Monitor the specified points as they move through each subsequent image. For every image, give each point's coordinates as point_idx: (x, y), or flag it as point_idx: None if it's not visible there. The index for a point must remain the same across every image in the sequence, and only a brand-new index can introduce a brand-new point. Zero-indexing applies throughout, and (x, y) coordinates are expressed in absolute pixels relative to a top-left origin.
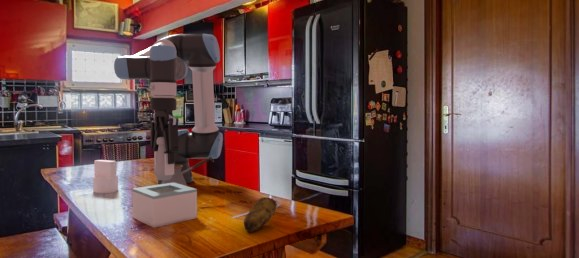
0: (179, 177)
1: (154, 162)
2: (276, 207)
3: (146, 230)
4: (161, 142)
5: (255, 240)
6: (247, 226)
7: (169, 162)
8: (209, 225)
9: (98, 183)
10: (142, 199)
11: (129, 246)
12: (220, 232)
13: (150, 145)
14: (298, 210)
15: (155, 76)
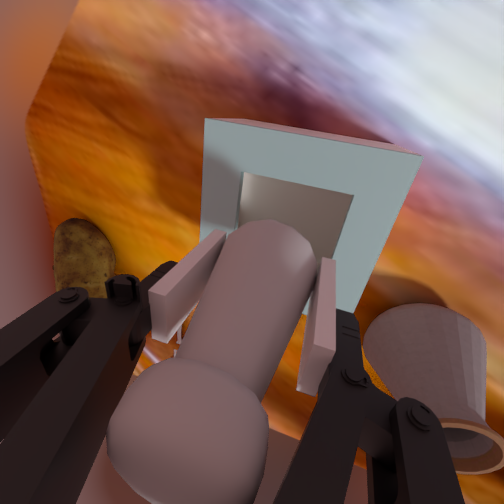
0: (399, 393)
1: (334, 291)
2: (174, 356)
3: (241, 88)
4: (146, 378)
5: (54, 197)
6: (71, 219)
7: (165, 266)
8: (168, 217)
9: None
10: (308, 134)
11: None
12: (119, 195)
13: (440, 435)
14: (142, 355)
15: None
